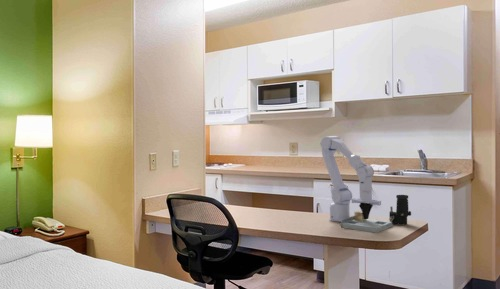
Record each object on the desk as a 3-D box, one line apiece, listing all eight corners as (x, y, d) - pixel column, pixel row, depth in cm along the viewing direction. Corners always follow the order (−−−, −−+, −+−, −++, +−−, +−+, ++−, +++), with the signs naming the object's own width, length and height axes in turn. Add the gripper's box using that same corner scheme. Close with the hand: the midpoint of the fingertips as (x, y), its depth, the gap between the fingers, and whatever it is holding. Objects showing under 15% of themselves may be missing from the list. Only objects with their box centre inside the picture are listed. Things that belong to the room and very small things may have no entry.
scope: (389, 193, 205) (410, 194, 201) (389, 221, 205) (411, 222, 202) (388, 196, 197) (411, 197, 194) (389, 225, 198) (411, 226, 194)
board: (341, 227, 196) (341, 219, 196) (357, 221, 208) (357, 214, 207) (376, 232, 184) (376, 224, 183) (392, 226, 195) (392, 218, 195)
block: (354, 220, 201) (354, 211, 201) (358, 218, 204) (358, 210, 204) (362, 220, 199) (361, 212, 199) (366, 219, 202) (365, 211, 201)
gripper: (348, 190, 201) (348, 218, 201) (376, 193, 191) (376, 222, 191) (355, 189, 206) (355, 216, 206) (382, 191, 196) (383, 219, 196)
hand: (366, 218), depth 199 cm, fingers closed
